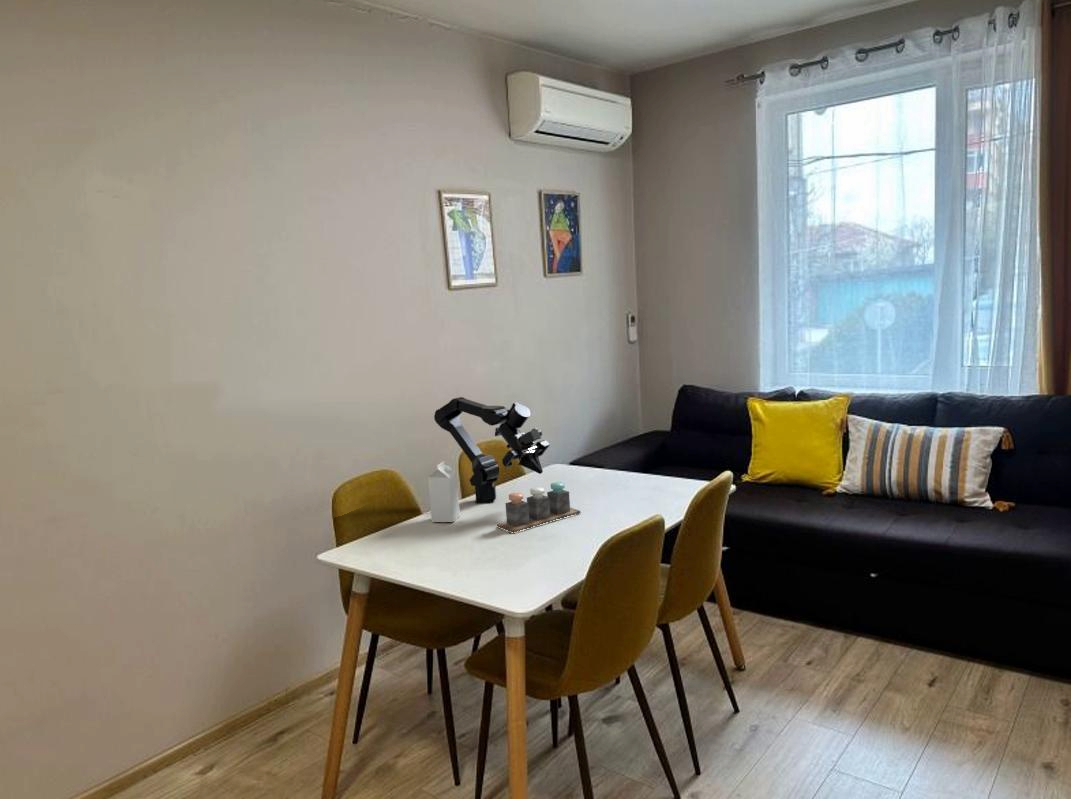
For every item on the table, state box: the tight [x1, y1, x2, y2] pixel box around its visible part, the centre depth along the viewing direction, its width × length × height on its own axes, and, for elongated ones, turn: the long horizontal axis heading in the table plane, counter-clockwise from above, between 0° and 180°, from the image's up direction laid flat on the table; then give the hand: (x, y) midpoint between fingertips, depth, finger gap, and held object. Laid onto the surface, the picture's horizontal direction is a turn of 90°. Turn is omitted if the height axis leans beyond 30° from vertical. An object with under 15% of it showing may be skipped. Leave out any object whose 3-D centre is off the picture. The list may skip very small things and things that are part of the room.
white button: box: [529, 486, 545, 499], centre depth 225 cm, size 4×4×4 cm
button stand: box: [496, 489, 581, 534], centre depth 226 cm, size 26×9×8 cm, turn 126°
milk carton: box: [427, 460, 461, 523], centre depth 232 cm, size 7×7×19 cm
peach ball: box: [508, 492, 524, 505], centre depth 221 cm, size 4×4×4 cm
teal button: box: [550, 481, 565, 494], centre depth 230 cm, size 4×4×4 cm
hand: (541, 472), depth 233 cm, fingers closed
